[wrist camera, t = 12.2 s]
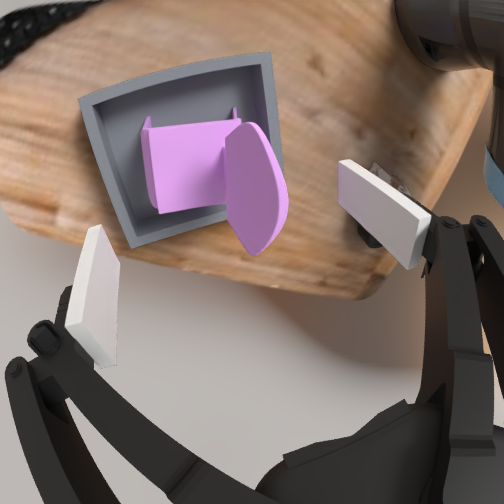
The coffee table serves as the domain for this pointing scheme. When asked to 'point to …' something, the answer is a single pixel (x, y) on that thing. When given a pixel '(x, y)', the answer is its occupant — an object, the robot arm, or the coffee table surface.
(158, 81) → the tray
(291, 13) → the coffee table surface
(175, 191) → the toy chair
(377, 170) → the grey brown rock
